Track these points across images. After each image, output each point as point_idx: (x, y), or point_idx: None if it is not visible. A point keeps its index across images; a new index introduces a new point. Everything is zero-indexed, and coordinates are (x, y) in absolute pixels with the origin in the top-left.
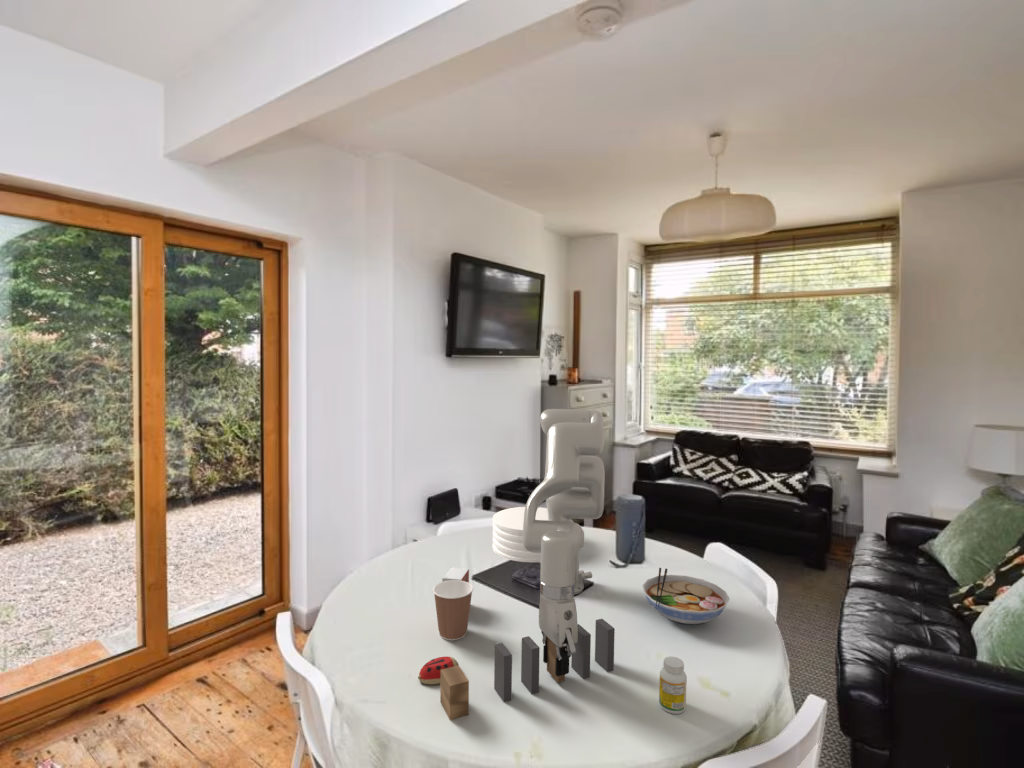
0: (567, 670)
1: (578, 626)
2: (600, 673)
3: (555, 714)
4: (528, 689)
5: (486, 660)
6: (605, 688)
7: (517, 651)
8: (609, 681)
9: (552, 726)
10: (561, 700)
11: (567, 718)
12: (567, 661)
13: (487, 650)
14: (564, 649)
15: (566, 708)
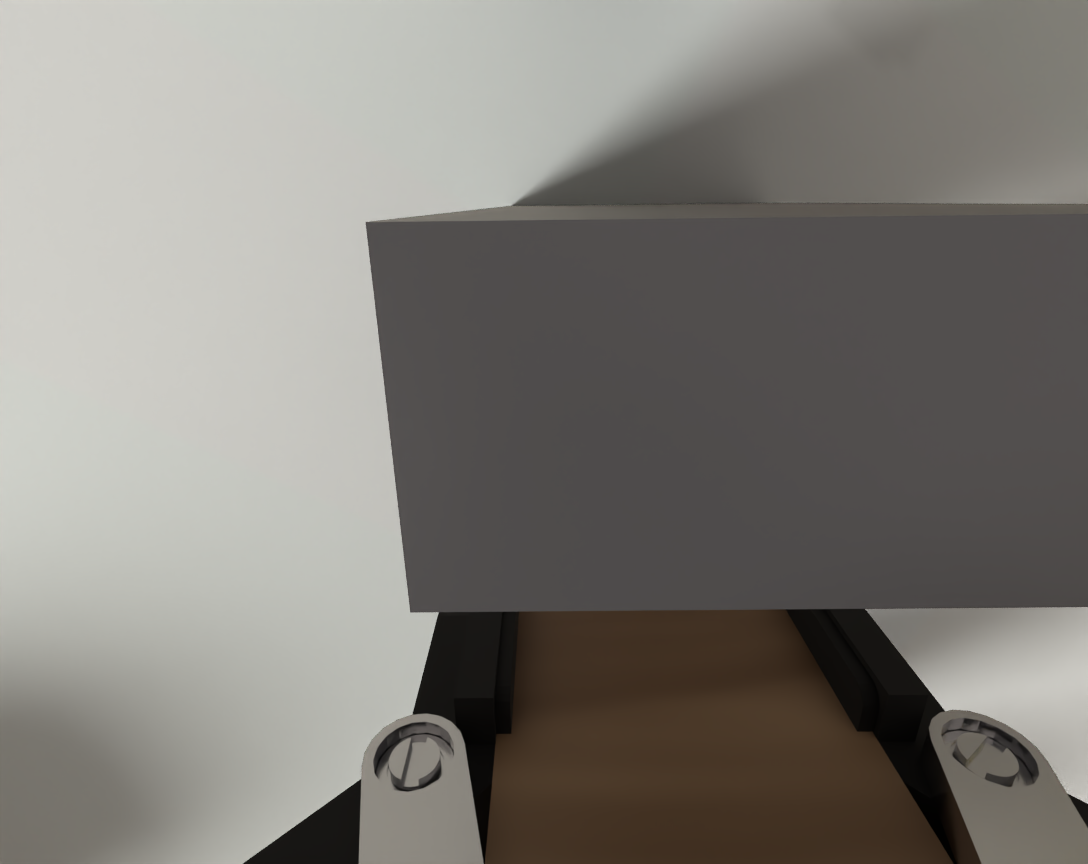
0: (865, 611)
1: (605, 389)
2: (773, 18)
3: (982, 712)
4: None
5: (189, 847)
6: (1024, 149)
7: (97, 632)
8: (963, 7)
9: (1058, 771)
10: (886, 615)
11: (1074, 666)
12: (933, 703)
13: (48, 806)
14: (940, 862)
15: (986, 625)
